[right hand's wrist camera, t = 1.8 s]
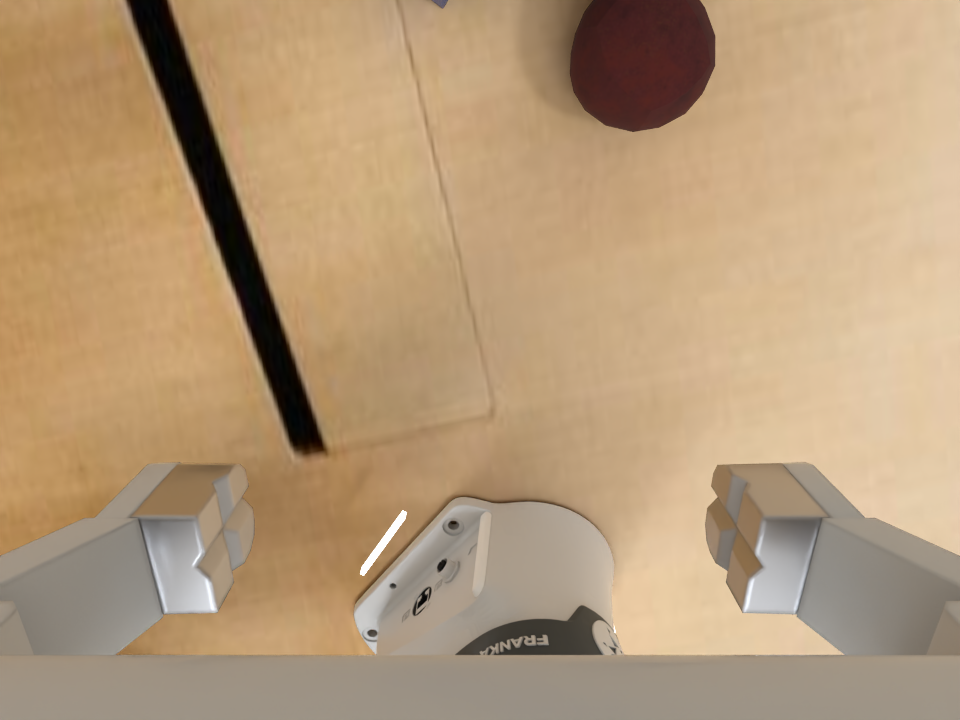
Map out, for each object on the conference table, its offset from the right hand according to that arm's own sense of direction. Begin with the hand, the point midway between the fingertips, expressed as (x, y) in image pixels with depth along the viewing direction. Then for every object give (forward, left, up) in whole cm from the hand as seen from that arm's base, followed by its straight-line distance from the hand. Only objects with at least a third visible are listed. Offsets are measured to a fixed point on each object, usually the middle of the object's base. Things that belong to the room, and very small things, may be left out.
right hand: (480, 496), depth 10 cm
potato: (+12, +2, -31) cm, 33 cm away
